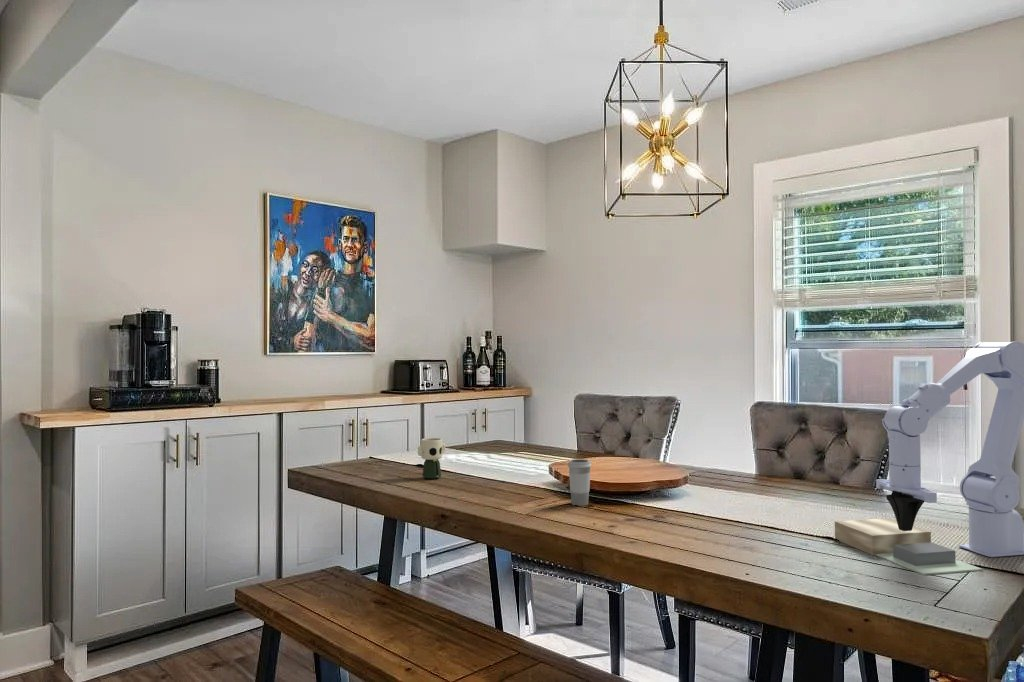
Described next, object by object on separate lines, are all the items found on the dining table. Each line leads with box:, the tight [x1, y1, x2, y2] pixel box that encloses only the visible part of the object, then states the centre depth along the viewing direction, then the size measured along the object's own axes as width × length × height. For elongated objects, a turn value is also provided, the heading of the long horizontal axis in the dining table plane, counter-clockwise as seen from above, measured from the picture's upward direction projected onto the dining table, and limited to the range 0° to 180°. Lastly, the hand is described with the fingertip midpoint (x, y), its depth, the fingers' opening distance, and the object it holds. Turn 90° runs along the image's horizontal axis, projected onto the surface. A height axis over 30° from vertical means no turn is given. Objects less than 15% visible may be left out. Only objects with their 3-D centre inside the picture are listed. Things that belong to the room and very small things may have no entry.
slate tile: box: [893, 541, 956, 566], centre depth 139 cm, size 9×6×2 cm, turn 101°
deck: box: [834, 517, 932, 556], centre depth 151 cm, size 14×12×4 cm
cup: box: [566, 458, 593, 507], centre depth 191 cm, size 7×7×12 cm
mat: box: [875, 553, 983, 576], centre depth 138 cm, size 13×12×1 cm
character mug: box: [417, 437, 446, 479], centre depth 230 cm, size 11×7×13 cm, turn 133°
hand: (905, 530), depth 144 cm, fingers closed
